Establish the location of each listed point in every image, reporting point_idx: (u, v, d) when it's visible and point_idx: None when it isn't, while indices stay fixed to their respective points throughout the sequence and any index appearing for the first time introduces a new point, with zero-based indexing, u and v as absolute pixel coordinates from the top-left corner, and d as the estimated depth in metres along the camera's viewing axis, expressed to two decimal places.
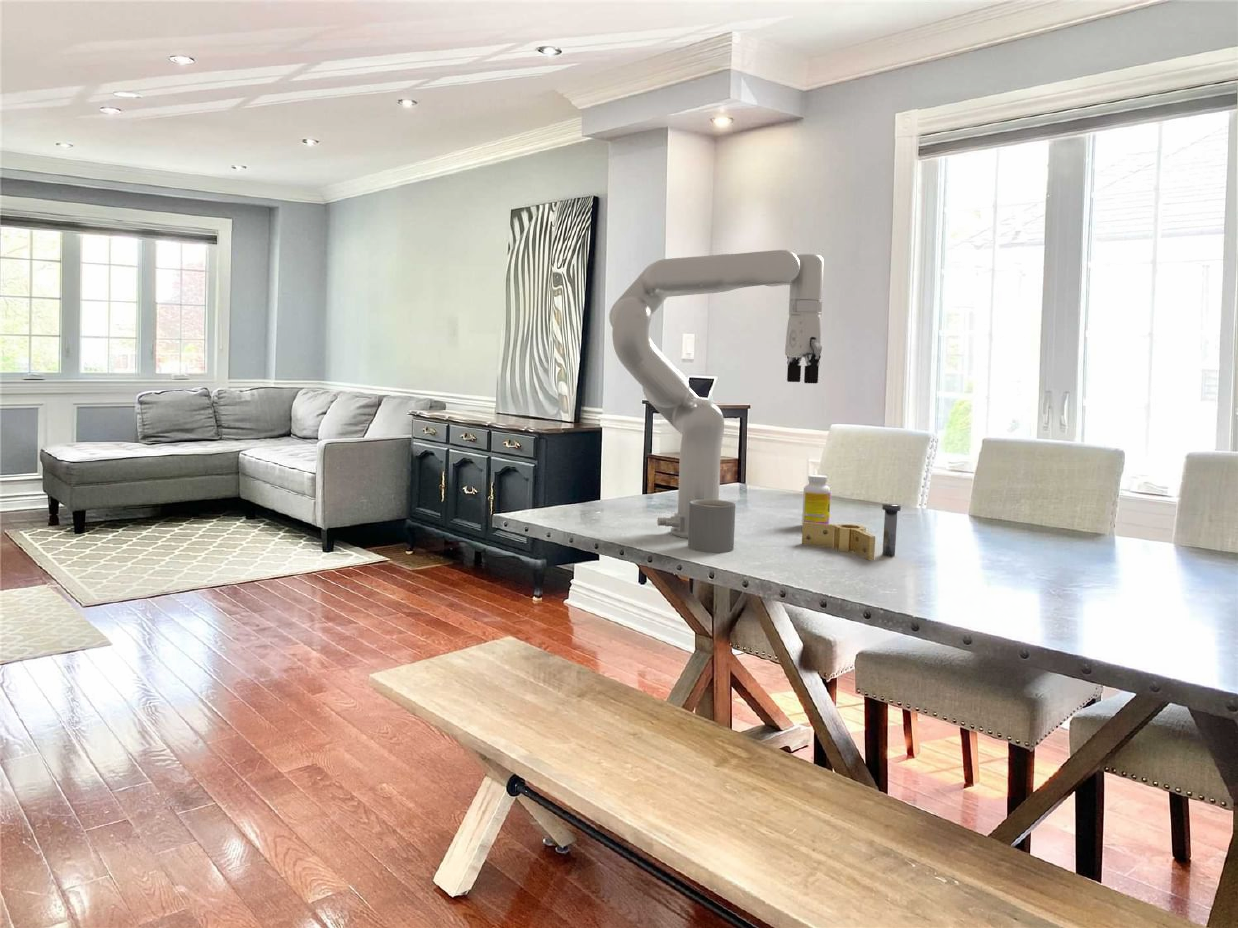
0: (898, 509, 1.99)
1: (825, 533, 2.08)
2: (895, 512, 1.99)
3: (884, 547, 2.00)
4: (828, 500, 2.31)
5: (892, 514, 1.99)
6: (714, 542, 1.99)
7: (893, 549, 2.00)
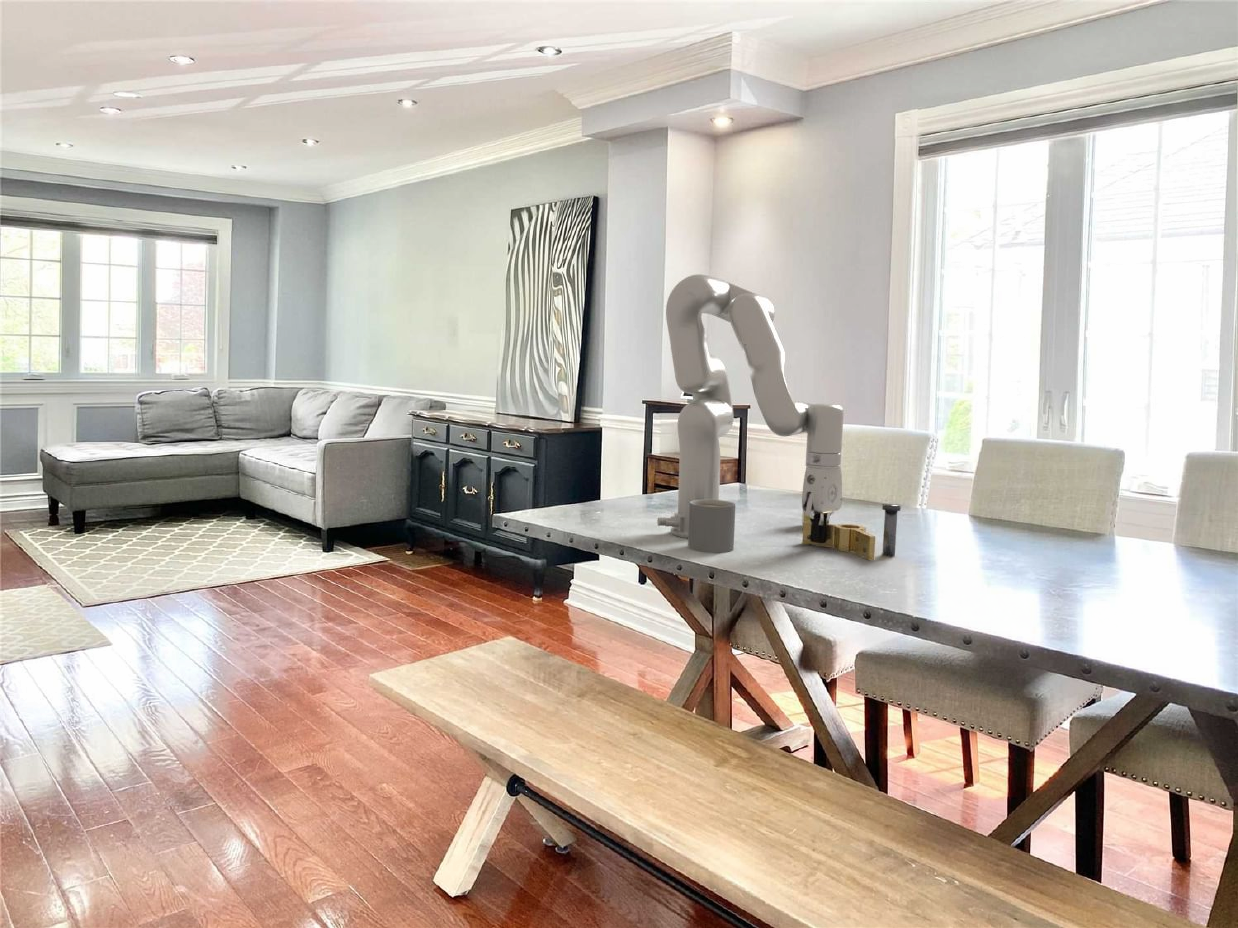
0: (898, 509, 1.99)
1: None
2: (895, 512, 1.99)
3: (884, 547, 2.00)
4: None
5: (892, 514, 1.99)
6: (714, 542, 1.99)
7: (893, 549, 2.00)
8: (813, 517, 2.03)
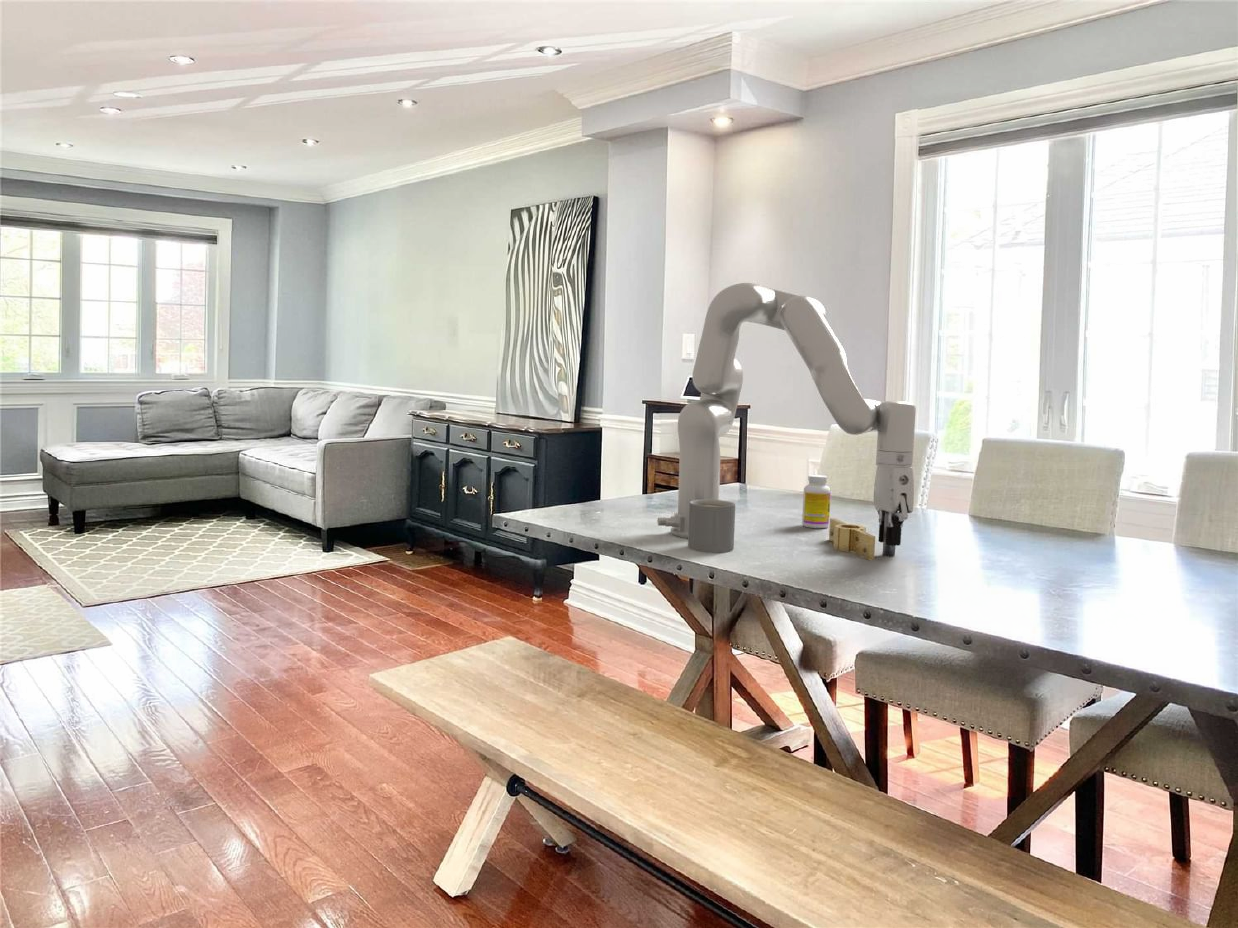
0: None
1: None
2: None
3: (884, 547, 2.00)
4: (828, 500, 2.31)
5: None
6: (714, 542, 1.99)
7: (893, 549, 2.00)
8: None
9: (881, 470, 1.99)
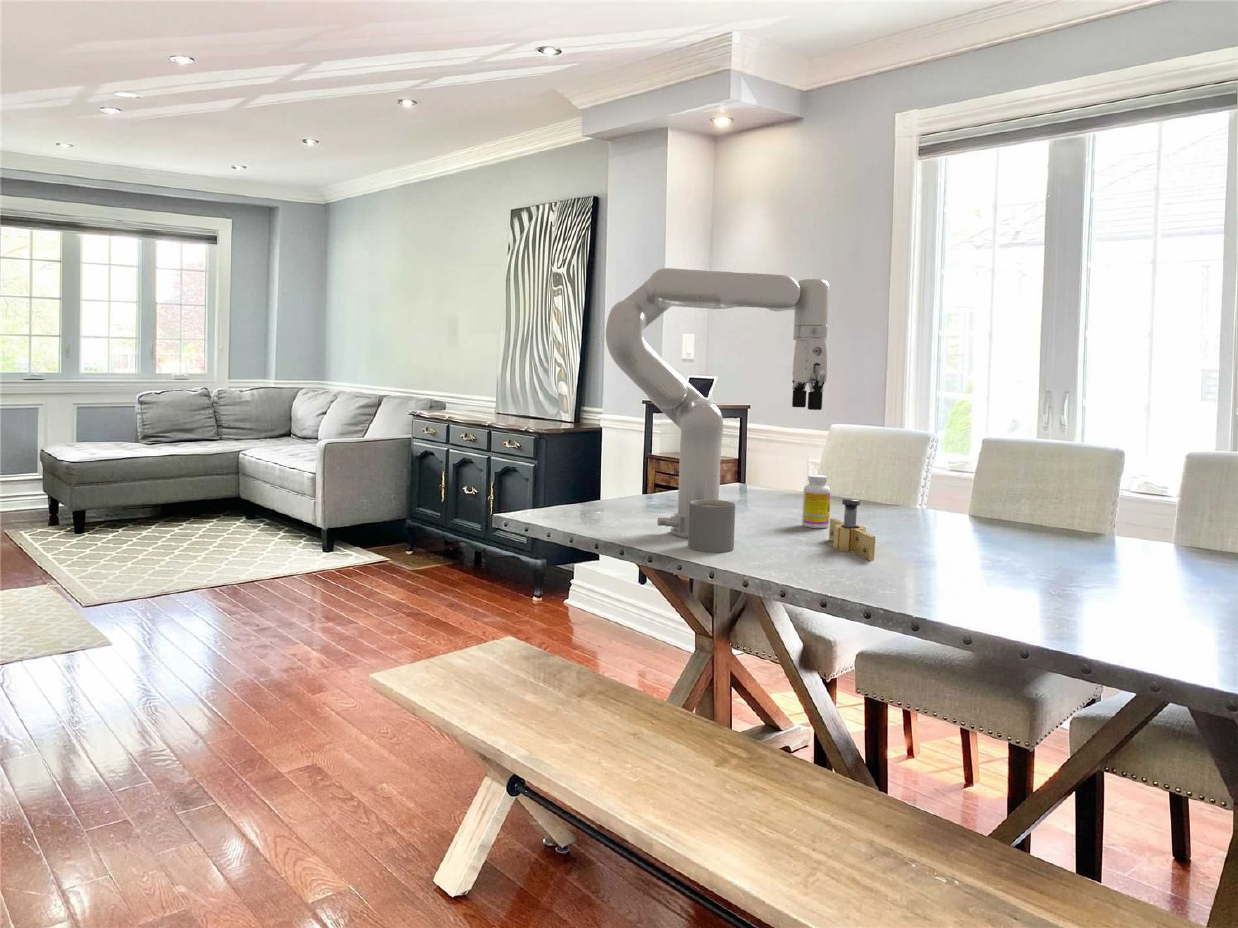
0: (857, 504, 2.04)
1: None
2: (854, 507, 2.05)
3: None
4: (828, 500, 2.31)
5: (851, 509, 2.05)
6: (714, 542, 1.99)
7: None
8: None
9: (798, 344, 2.15)
